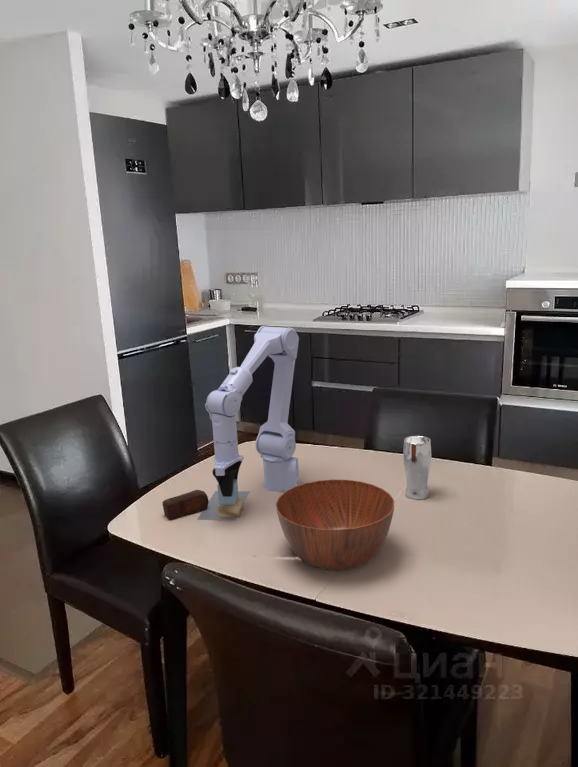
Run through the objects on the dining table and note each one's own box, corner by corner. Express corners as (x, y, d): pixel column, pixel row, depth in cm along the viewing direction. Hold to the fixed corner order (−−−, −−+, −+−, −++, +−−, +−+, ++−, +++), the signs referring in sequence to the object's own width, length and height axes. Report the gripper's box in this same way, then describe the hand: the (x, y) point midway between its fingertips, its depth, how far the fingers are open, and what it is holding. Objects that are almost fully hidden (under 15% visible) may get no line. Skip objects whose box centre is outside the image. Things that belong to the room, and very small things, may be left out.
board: (249, 494, 161) (249, 491, 161) (235, 523, 145) (235, 520, 144) (215, 493, 162) (215, 490, 162) (197, 522, 146) (197, 519, 146)
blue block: (223, 497, 150) (221, 479, 149) (238, 498, 150) (237, 479, 148) (219, 504, 146) (217, 485, 145) (235, 505, 146) (233, 485, 145)
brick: (170, 523, 146) (167, 505, 145) (164, 518, 149) (161, 500, 148) (210, 508, 151) (207, 491, 150) (203, 504, 154) (200, 487, 153)
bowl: (364, 596, 113) (363, 541, 110) (255, 564, 126) (252, 514, 123) (412, 539, 133) (412, 491, 130) (314, 516, 146) (312, 472, 144)
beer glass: (401, 498, 154) (400, 443, 150) (406, 488, 160) (406, 434, 156) (428, 501, 151) (428, 445, 147) (433, 491, 157) (433, 436, 154)
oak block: (243, 508, 151) (242, 497, 150) (238, 517, 146) (237, 506, 145) (223, 508, 151) (222, 497, 151) (218, 517, 146) (217, 505, 146)
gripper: (234, 449, 137) (238, 505, 140) (248, 430, 151) (251, 480, 154) (204, 449, 138) (209, 504, 141) (220, 430, 152) (224, 480, 155)
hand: (229, 492), depth 147 cm, fingers closed on blue block, 4 cm apart
